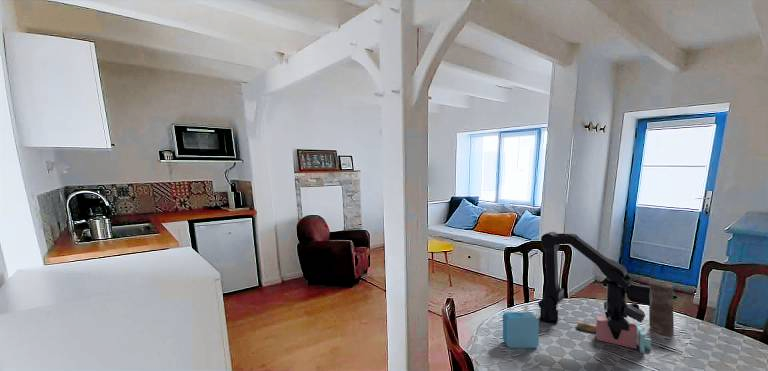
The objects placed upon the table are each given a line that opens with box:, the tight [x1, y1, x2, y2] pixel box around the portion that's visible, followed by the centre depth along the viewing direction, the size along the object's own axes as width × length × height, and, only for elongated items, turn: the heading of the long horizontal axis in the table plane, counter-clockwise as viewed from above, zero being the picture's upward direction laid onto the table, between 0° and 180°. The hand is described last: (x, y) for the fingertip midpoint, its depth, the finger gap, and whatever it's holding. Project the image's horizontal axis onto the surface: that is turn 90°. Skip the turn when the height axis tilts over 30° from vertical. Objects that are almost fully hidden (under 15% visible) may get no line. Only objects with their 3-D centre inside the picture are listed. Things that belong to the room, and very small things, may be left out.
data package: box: [502, 311, 540, 349], centre depth 115 cm, size 12×4×12 cm, turn 88°
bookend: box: [635, 323, 652, 355], centre depth 111 cm, size 4×8×7 cm, turn 148°
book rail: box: [577, 320, 596, 333], centre depth 122 cm, size 18×2×2 cm, turn 58°
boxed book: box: [595, 315, 638, 350], centre depth 115 cm, size 12×4×8 cm, turn 58°
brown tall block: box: [648, 281, 675, 336], centre depth 122 cm, size 8×7×20 cm
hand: (615, 336), depth 115 cm, fingers closed on boxed book, 4 cm apart
